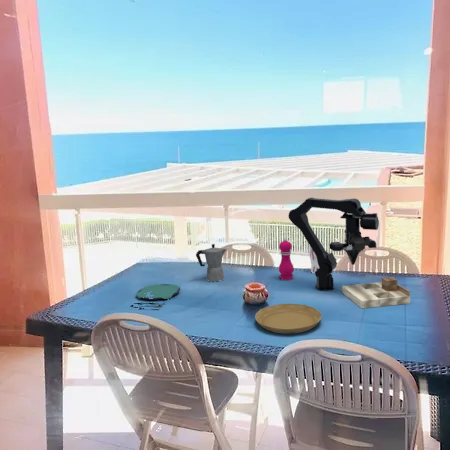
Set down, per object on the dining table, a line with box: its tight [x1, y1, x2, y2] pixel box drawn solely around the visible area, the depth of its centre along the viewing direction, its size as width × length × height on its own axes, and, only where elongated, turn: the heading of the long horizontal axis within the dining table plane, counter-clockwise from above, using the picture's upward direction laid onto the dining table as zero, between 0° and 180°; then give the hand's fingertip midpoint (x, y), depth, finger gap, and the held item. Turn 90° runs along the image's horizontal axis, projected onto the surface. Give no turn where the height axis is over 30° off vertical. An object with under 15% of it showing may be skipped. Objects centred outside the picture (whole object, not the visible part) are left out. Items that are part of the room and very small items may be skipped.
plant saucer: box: [254, 303, 322, 335], centre depth 168 cm, size 24×24×3 cm
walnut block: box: [381, 276, 398, 291], centre depth 188 cm, size 4×4×4 cm
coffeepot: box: [195, 243, 227, 282], centre depth 225 cm, size 15×9×18 cm, turn 103°
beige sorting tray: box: [341, 276, 411, 309], centre depth 188 cm, size 20×20×5 cm
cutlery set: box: [135, 283, 181, 309], centre depth 204 cm, size 20×30×2 cm, turn 167°
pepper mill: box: [278, 237, 295, 281], centre depth 221 cm, size 7×7×20 cm
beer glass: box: [308, 241, 324, 274], centre depth 228 cm, size 7×7×15 cm
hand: (352, 264), depth 196 cm, fingers closed
